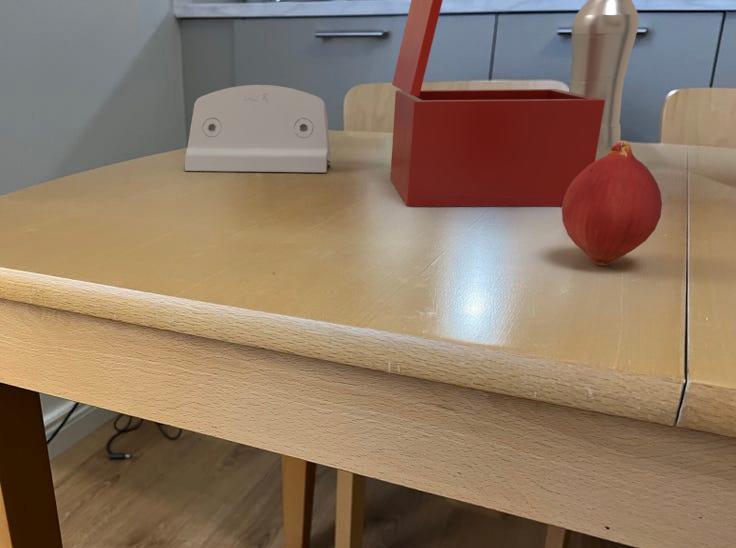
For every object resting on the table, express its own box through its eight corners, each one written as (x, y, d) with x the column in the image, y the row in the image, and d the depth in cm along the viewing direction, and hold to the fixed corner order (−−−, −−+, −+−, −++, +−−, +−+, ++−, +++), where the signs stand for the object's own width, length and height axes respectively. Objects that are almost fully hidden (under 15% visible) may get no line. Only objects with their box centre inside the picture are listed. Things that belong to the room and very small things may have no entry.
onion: (551, 250, 53) (569, 133, 50) (640, 255, 52) (664, 135, 48) (557, 273, 48) (577, 145, 45) (655, 280, 47) (684, 147, 43)
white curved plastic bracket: (181, 170, 85) (184, 80, 84) (190, 177, 90) (193, 92, 89) (329, 172, 83) (333, 79, 82) (331, 179, 87) (334, 92, 87)
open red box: (543, 180, 78) (556, 89, 74) (587, 206, 66) (605, 99, 63) (390, 180, 79) (395, 90, 75) (407, 206, 67) (414, 101, 63)
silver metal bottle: (618, 171, 82) (655, -36, 74) (552, 169, 84) (581, -33, 76) (613, 162, 87) (647, -31, 79) (551, 160, 89) (578, -29, 81)
